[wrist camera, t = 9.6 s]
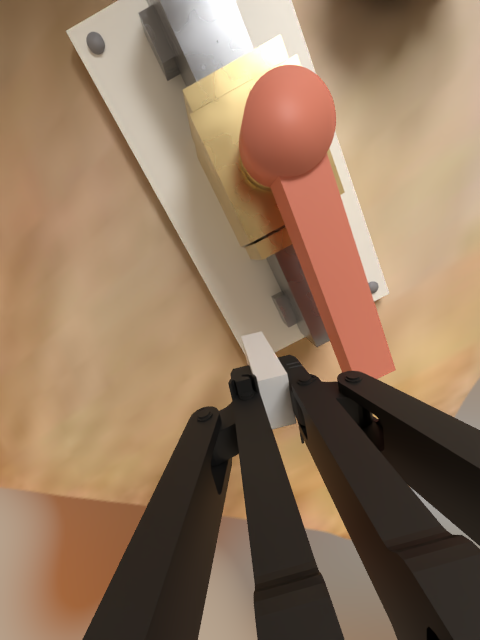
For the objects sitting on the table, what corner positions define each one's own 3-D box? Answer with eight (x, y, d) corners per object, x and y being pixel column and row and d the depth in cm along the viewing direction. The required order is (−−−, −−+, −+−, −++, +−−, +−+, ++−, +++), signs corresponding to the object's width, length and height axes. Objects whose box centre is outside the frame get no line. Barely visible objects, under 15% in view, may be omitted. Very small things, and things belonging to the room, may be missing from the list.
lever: (225, 120, 13) (227, 91, 11) (299, 83, 13) (317, 45, 11) (329, 377, 18) (347, 395, 15) (385, 350, 18) (411, 365, 15)
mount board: (74, 44, 19) (64, 28, 17) (260, -63, 18) (263, -89, 17) (249, 360, 27) (250, 365, 25) (381, 291, 26) (390, 293, 25)
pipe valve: (133, 30, 19) (69, -147, 11) (213, -16, 19) (211, -233, 10) (282, 333, 26) (312, 369, 18) (340, 303, 26) (399, 325, 18)
